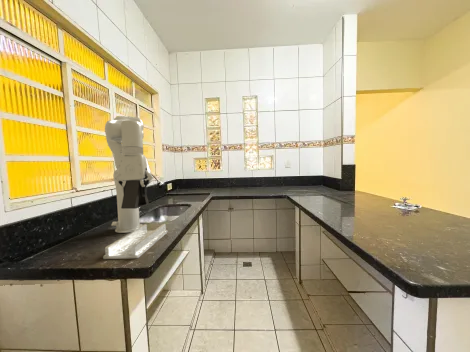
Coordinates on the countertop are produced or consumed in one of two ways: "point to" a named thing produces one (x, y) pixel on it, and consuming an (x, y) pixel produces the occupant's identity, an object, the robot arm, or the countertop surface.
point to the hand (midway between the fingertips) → (135, 196)
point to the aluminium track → (134, 243)
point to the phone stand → (133, 196)
